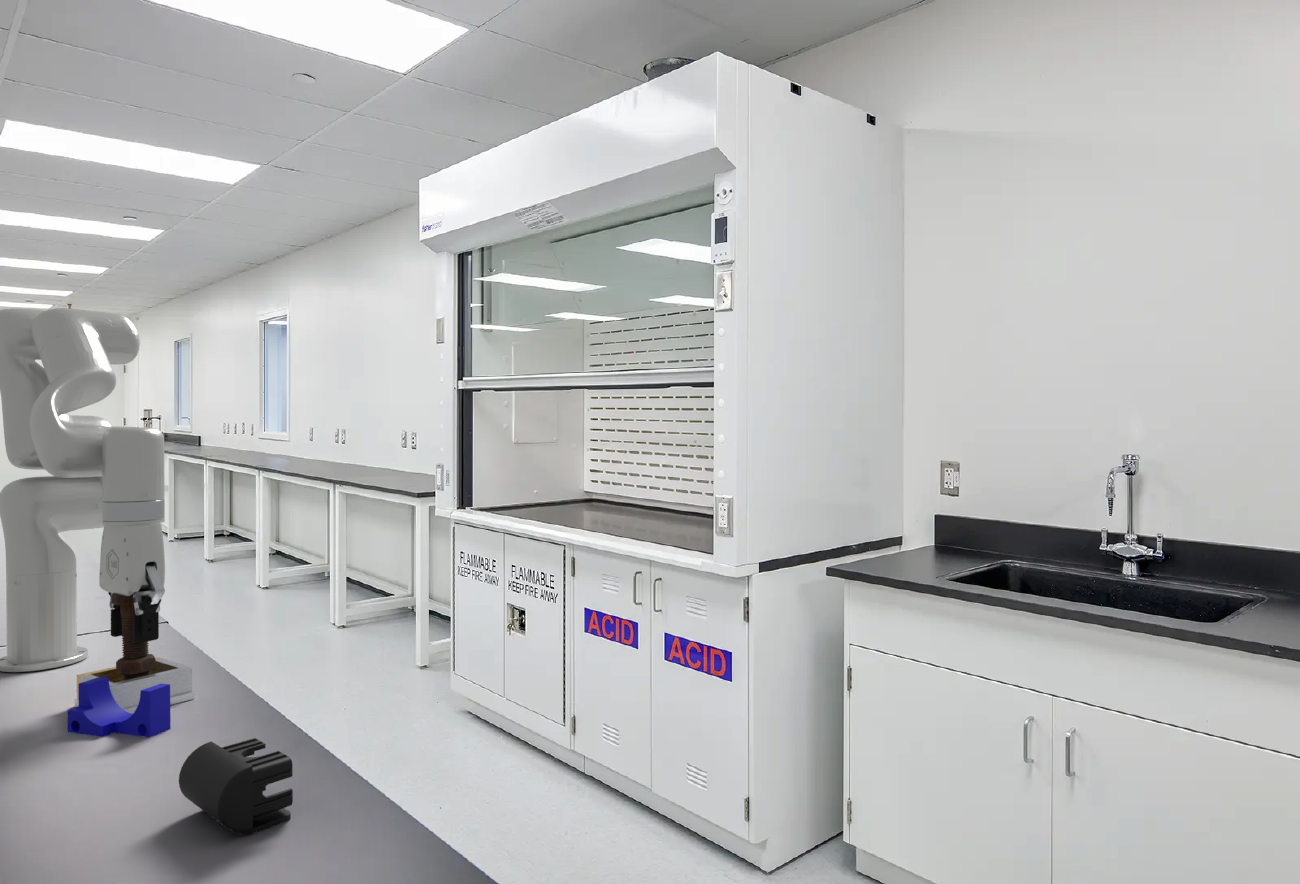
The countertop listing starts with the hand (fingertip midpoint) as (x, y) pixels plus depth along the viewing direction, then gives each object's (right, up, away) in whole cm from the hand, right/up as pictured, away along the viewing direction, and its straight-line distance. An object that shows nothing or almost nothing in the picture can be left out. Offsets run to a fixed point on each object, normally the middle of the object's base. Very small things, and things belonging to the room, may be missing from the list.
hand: (134, 636), depth 114 cm
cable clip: (+5, -10, -11) cm, 16 cm away
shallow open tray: (0, -9, 0) cm, 9 cm away
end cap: (+33, -10, -35) cm, 49 cm away
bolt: (0, -9, 0) cm, 9 cm away
